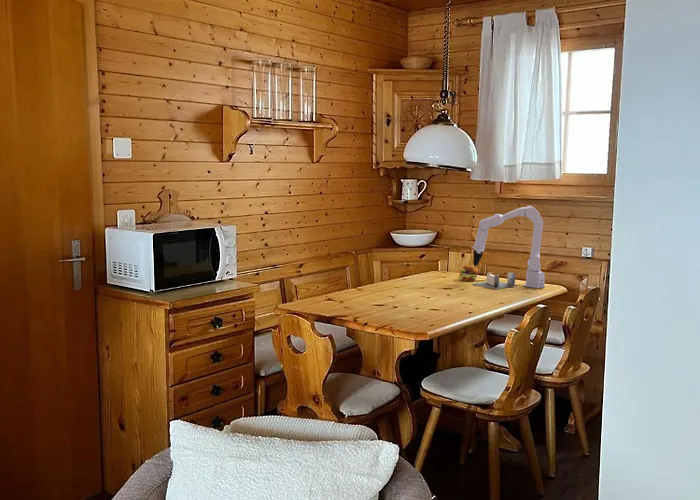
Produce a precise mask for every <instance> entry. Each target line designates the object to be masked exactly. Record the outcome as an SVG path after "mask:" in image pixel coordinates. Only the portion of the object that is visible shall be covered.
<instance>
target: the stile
mask: <svg viewBox="0 0 700 500" xmlns="http://www.w3.org/2000/svg"><path fill="white" fill-rule="evenodd" d="M506 279H507V281H506V283H507V284H508V286H514V285H516V273H515V272H507V278H506Z"/></svg>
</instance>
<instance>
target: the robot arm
mask: <svg viewBox="0 0 700 500" xmlns="http://www.w3.org/2000/svg"><path fill="white" fill-rule="evenodd" d="M515 217H523V218H524V217H526V218H527V219H529V220H530V221H531V222H532V223H533V230H532V241H531V250H530V254H529V258H528V260H527V261H526V264H527V266H528V268H526V277H525V279H526V280H525V284H522V286H523V287H528V288H533V289H540V288H541V289H542V288H545V287H546V286H545V283H546V281H545V280H546V278H545V277H546V275H545V272H543V271H541V266H542V263H541V246H542V238H543V237H542V236H543V228H544V220H543V218H542V215H541V213H540V212H539V211H538V209H536V208H535V207H533V206H531V205H527V206H524V207H523V206H521V207H519V208H516V209H514V210H512V211H508V212H506V213H504V214H500V213H495V214H493V215H492V216H489V217H488V216H486V217H485V218H483V219H480V221H479V222H478V228H477V232H476V236H475V241H474V245H473V246H471V249H473V250H472V254H473V259H472V260H473V261H472V262H473V263H472V264H473V266H474V267H475V266H477V267H478V265H479V263H480V261H481V258H482V257H483V256H484V254H483V253H484V252H485V248H486V242H487V239H488V232H489V229H490V228H494V227H496V226H497V227H498V226H500V225H502V224H503V223H504V221H507V220H509V219H513V218H515Z"/></svg>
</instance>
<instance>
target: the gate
mask: <svg viewBox="0 0 700 500" xmlns="http://www.w3.org/2000/svg"><path fill="white" fill-rule="evenodd" d="M495 275H496V274H492V272H491V271H489V272H487V273H486V280H485V282H486V283H488V284H490V285H493V286H494V280H495Z"/></svg>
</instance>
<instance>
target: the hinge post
mask: <svg viewBox="0 0 700 500" xmlns="http://www.w3.org/2000/svg"><path fill="white" fill-rule="evenodd" d="M494 275H495V280H494V287H499V282H500V275H499V274H494Z"/></svg>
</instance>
